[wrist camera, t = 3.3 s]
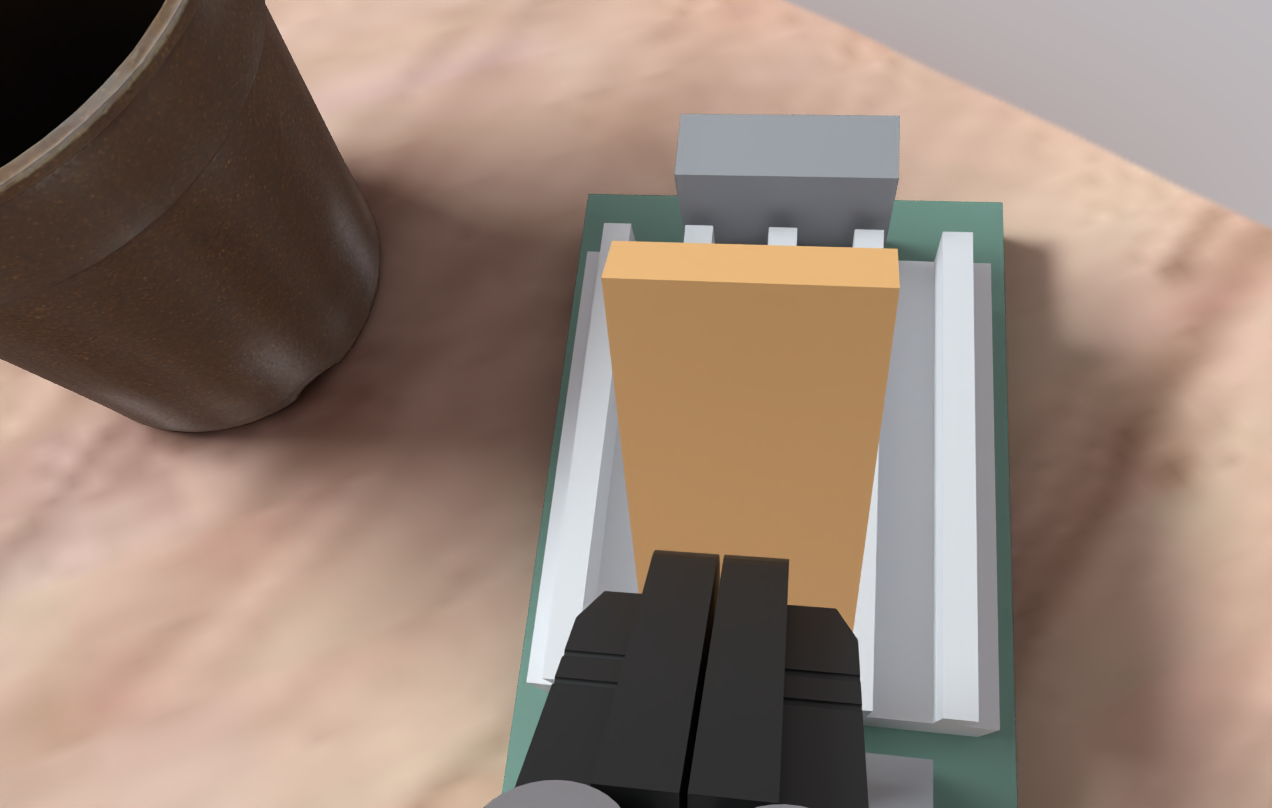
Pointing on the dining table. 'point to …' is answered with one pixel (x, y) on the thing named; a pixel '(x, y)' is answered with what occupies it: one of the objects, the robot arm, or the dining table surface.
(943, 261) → the base
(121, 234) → the plant pot
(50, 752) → the dining table surface
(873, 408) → the retention strap
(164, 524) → the dining table surface
